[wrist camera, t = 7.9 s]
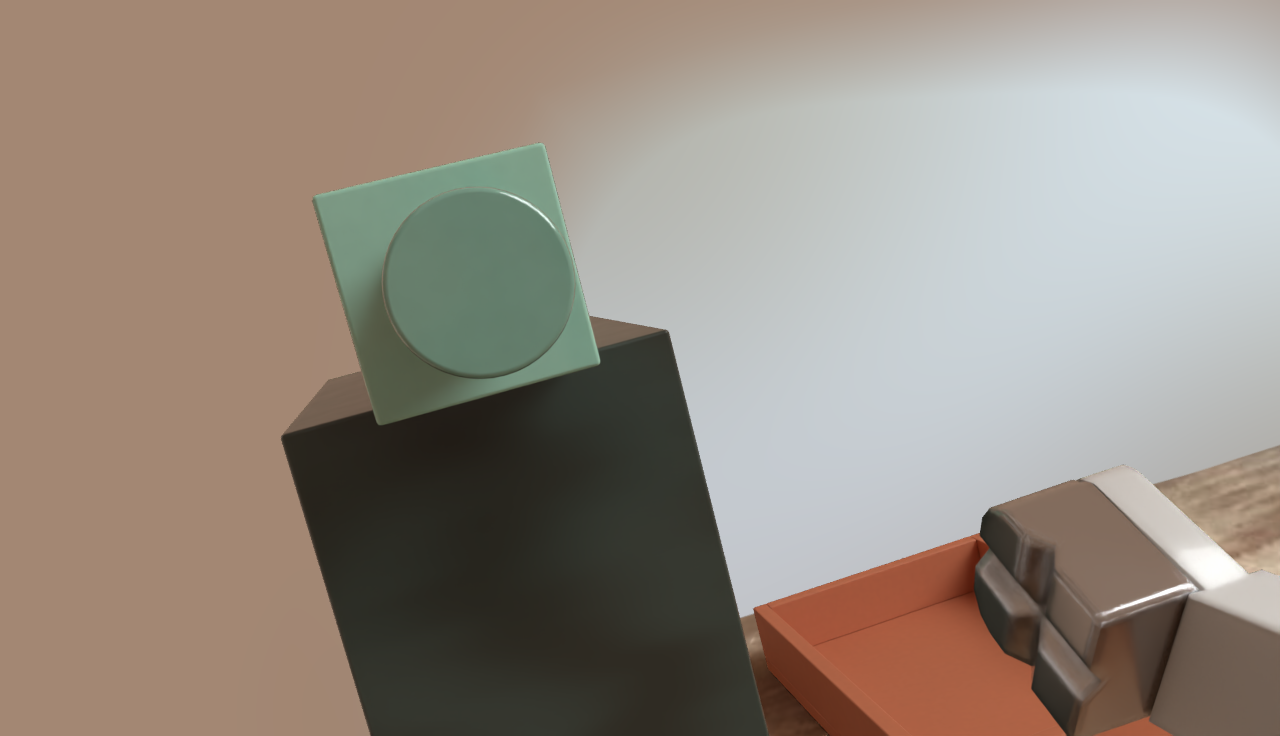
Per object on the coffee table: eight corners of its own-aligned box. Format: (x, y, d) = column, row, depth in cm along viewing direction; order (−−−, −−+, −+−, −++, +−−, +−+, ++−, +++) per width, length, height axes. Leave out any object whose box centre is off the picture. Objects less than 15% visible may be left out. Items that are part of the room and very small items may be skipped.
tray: (958, 875, 40) (937, 782, 39) (767, 669, 61) (752, 607, 60) (1285, 745, 42) (1269, 657, 42) (994, 591, 63) (981, 531, 63)
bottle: (364, 481, 13) (271, 161, 13) (389, 370, 30) (350, 230, 29) (670, 394, 14) (594, 88, 13) (528, 333, 30) (491, 196, 30)
